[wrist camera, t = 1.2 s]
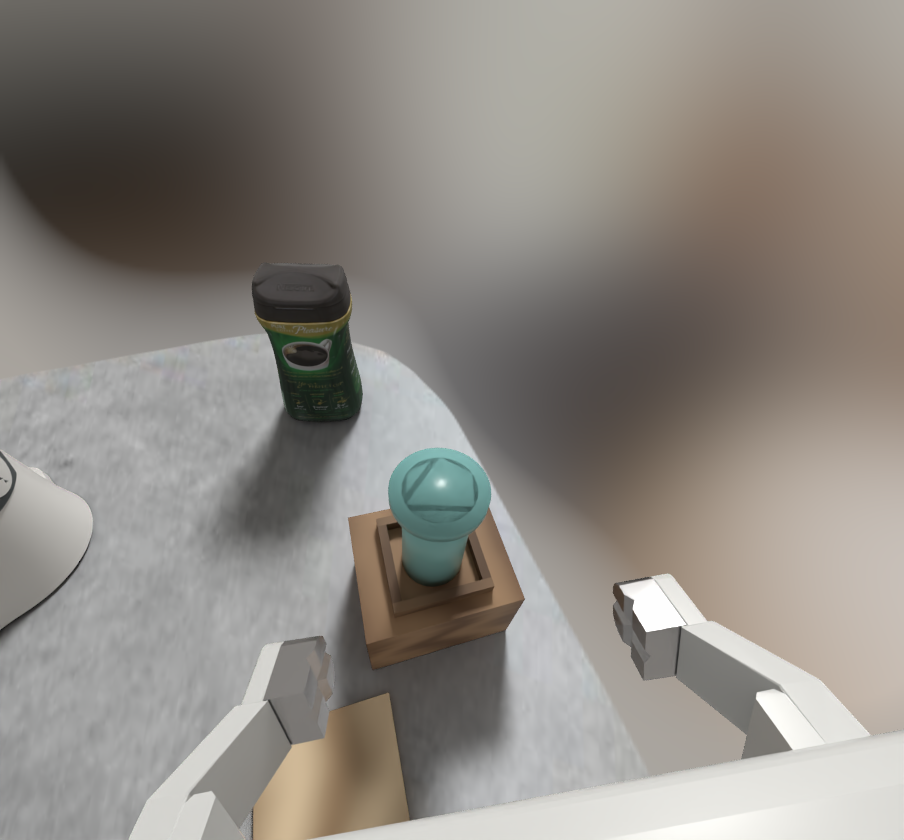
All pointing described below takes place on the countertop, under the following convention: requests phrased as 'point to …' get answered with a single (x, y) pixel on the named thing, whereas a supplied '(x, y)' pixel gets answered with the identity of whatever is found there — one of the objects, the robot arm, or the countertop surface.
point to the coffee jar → (310, 338)
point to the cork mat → (337, 779)
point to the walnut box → (429, 592)
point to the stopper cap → (437, 511)
